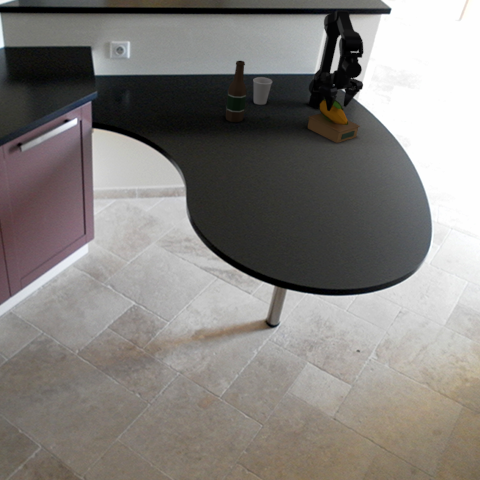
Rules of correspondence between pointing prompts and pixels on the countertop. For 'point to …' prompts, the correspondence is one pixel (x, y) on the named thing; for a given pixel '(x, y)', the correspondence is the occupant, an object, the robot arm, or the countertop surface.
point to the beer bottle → (236, 95)
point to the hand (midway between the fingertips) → (336, 108)
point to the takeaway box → (332, 128)
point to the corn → (334, 113)
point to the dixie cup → (261, 90)
